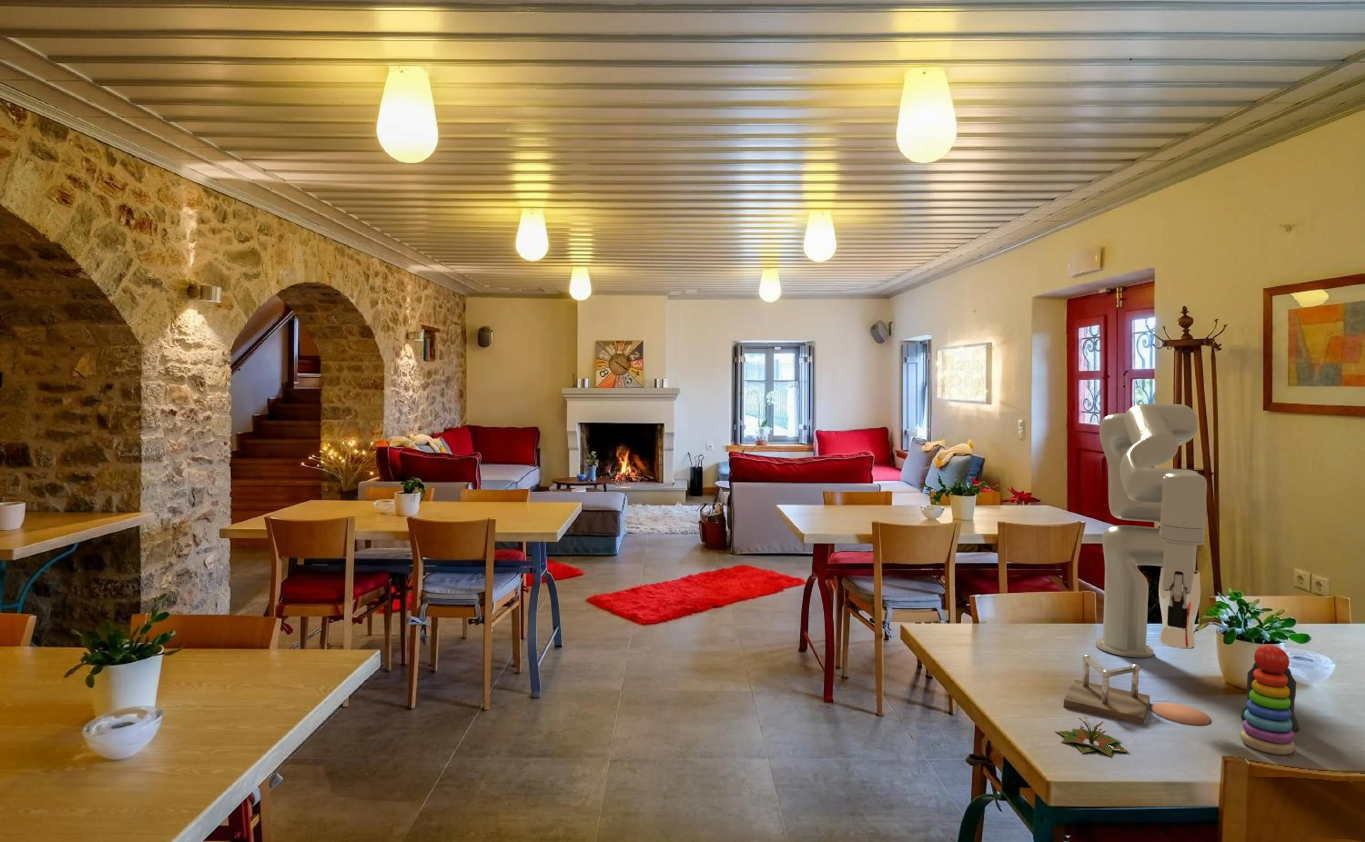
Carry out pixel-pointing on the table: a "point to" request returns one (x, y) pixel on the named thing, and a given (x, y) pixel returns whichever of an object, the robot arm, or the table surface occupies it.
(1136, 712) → the board
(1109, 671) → the bent wire
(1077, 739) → the lily flower
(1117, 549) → the robot arm
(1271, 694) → the stacking toy
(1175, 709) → the pad
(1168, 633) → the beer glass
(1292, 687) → the mug
